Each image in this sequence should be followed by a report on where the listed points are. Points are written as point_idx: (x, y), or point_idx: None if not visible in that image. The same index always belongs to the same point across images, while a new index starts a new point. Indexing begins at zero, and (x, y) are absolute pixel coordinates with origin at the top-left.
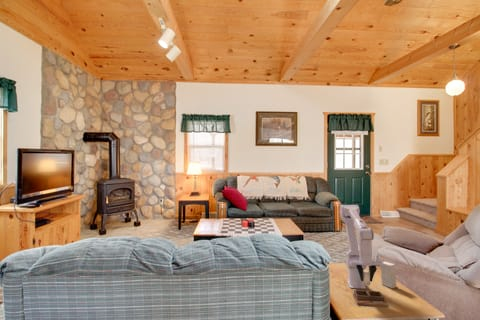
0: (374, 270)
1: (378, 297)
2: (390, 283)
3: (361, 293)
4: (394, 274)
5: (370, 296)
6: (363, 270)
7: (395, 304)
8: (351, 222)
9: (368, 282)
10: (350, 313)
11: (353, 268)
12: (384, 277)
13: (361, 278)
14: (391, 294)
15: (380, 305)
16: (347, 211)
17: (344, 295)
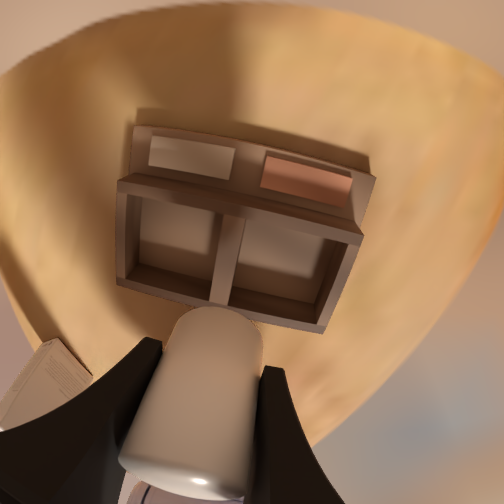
0: (20, 450)
1: (162, 188)
2: (50, 357)
3: (267, 301)
4: (14, 385)
5: (233, 209)
6: (207, 498)
7: (77, 161)
8: None
9: (199, 332)
10: (469, 78)
11: (239, 499)
12: (64, 396)
13: (290, 396)
14: (66, 286)
15: (185, 131)
16: None
17: (377, 317)
